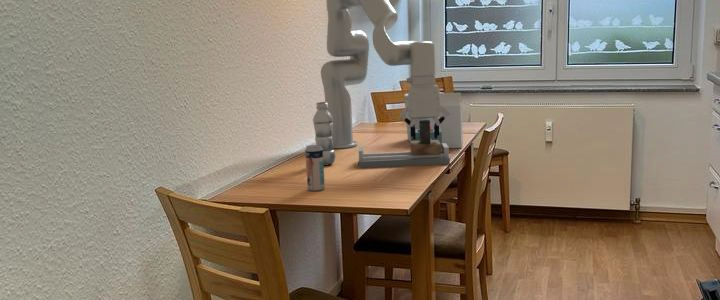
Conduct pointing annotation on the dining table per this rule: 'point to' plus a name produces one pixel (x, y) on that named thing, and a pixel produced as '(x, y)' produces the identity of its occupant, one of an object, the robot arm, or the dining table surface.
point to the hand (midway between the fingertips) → (425, 137)
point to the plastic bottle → (324, 132)
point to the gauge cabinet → (430, 136)
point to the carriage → (425, 141)
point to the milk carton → (452, 120)
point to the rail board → (402, 158)
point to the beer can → (315, 167)
